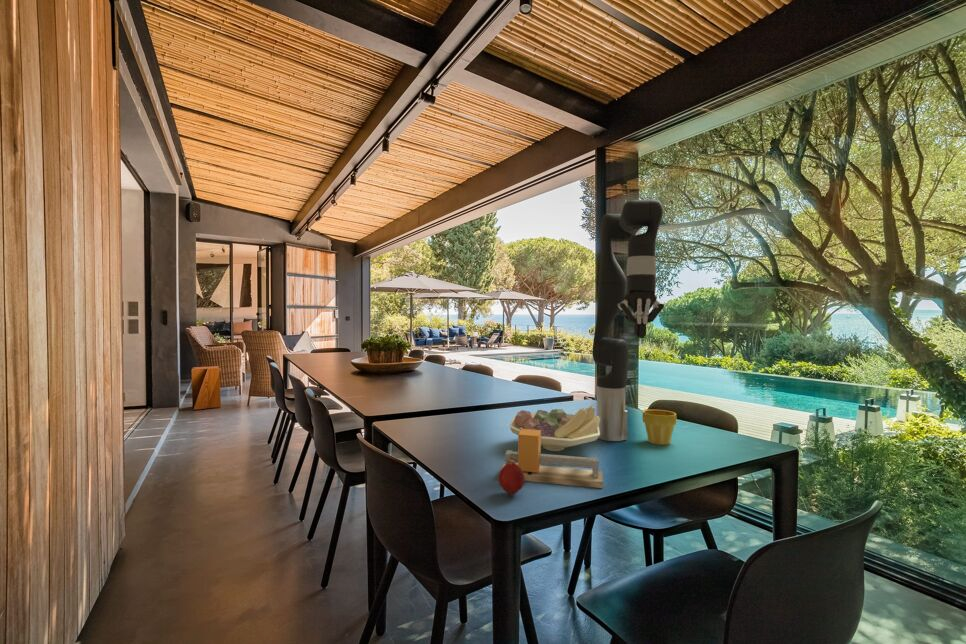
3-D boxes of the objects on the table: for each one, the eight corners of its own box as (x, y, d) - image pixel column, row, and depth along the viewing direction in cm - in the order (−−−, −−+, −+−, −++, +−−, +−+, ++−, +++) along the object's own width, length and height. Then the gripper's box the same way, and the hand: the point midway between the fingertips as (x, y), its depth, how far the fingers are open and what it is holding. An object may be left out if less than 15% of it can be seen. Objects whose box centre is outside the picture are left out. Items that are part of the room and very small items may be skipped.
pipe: (598, 473, 115) (598, 457, 115) (598, 478, 112) (598, 461, 112) (507, 465, 120) (507, 450, 120) (504, 469, 117) (505, 453, 117)
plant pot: (637, 437, 155) (638, 408, 155) (669, 438, 155) (669, 409, 155) (647, 446, 145) (648, 415, 145) (681, 447, 145) (681, 416, 144)
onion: (508, 487, 108) (509, 454, 108) (529, 494, 105) (529, 459, 105) (493, 495, 104) (493, 459, 104) (514, 502, 100) (514, 465, 100)
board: (601, 476, 117) (602, 470, 117) (602, 488, 109) (603, 481, 109) (504, 467, 122) (504, 461, 122) (499, 478, 115) (499, 471, 115)
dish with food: (611, 464, 127) (612, 412, 127) (510, 461, 128) (511, 411, 127) (590, 436, 155) (591, 394, 155) (507, 435, 156) (507, 393, 155)
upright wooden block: (540, 464, 119) (540, 430, 119) (537, 472, 114) (538, 436, 113) (521, 463, 120) (521, 428, 120) (517, 470, 115) (518, 434, 114)
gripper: (657, 275, 130) (655, 337, 130) (612, 274, 128) (611, 337, 128) (671, 273, 122) (670, 338, 122) (623, 272, 120) (622, 338, 121)
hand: (639, 337), depth 125 cm, fingers closed
